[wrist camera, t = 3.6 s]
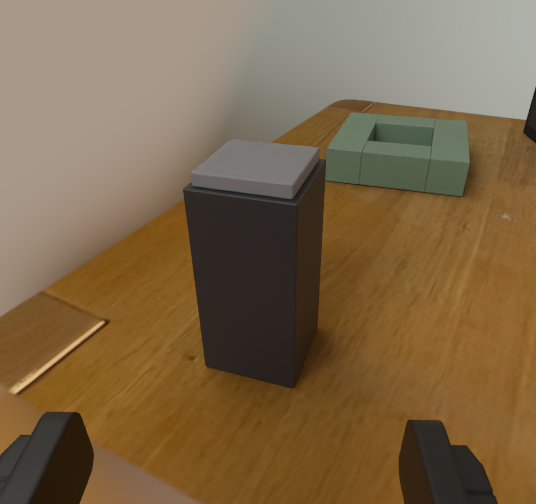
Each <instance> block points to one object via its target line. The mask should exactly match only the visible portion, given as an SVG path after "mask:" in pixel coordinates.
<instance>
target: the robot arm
mask: <svg viewBox="0 0 536 504" xmlns="http://www.w3.org/2000/svg"><path fill="white" fill-rule="evenodd" d="M93 459H94V453H93V448H92V445H91V442H90V439H89V437H88V434H87V431H86V428H85V426H84V423H83V420H82V417H81V415H80V414H79V413H77V412H46V413H45V414H43V415H42V417H41V418H40V420H39V421H38V423H37V425H36V427H35V429H34V431H33V433H32V434H31V435H20V436H19V437H18V438H17V439H16V440H15V441H14V442H13V443H12V444H11V445H10V446H9V447H8V448H7V449H6V450H5V451H4V452H3V453H2V454H1V455H0V504H79V503H80V501H81V498H82V496H83V493H84V490H85V488H86V485H87V482H88V480H89V477H90V475H91V471H92V467H93ZM399 477H400V484H401V489H402V493H403V498H404V503H405V504H498V503H497V500H496V498H495V496H494V495H493V490H492V487H491V485H490V482H489V480H488V477H487V475H486V472H485V469H484V467H483V465H482V464H481V463H480V462H479V461H478V459H477V458H476V457H475V456H474V454H473V453H472V452H471V451H470V450H469V448H468V447H467V446H464V445H451V444H450V442H449V439H448V436H447V433H446V430H445V427H444V425H443V423H442V422H441V421H439V420H408V421H407V424H406V428H405V433H404V437H403V442H402V446H401V451H400V455H399Z"/></svg>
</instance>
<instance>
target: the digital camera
mask: <svg viewBox="0 0 536 504" xmlns="http://www.w3.org/2000/svg"><path fill="white" fill-rule="evenodd" d="M523 132H524V133H525V134H526V135H528V136H529V137H530V138H531V139H532V140H534V141H535V142H536V88H535V92H534V95H533V99H532V102H531V106H530V109H529V113H528V116H527V120H526V124H525V127H524V131H523Z"/></svg>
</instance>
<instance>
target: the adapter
mask: <svg viewBox="0 0 536 504" xmlns="http://www.w3.org/2000/svg"><path fill="white" fill-rule="evenodd" d="M469 166H470V154H469V140H468V127H467V121H459V120H445V119H432V118H418V117H405V116H391V115H378V114H364V113H350V115H349V116H348V118H347V119H346V121H345V122H344V124H343V125H342V127H341V128H340V130H339V131H338V133H337V134H336V136H335V137H334V139H333V140H332V142H331V143H330V144H329V146H328V147H327V153H326V174H325V180H326V181H334V182H342V183H351V184H360V185H369V186H377V187H385V188H394V189H402V190H411V191H419V192H424V191H425V192H427V193H436V194H444V195H453V196H461V197H462V196H463V192H464V187H465V183H466V179H467V174H468V170H469Z"/></svg>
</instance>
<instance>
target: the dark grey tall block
mask: <svg viewBox="0 0 536 504" xmlns="http://www.w3.org/2000/svg"><path fill="white" fill-rule="evenodd" d="M319 152H320V149H319V148H318V147H309V146H298V145H288V144H278V143H268V142H258V141H247V140H236V139H231V140H230V141H229V142H227V143H226V144H225V145H224V146H223V147H221V148H220V149H219V150H218V151H216V152H215V153H214V154H213V155H211V156H210V157H209V158H208V159H207V160H205V161H204V162H203V163H201V164H200V165H199V166H198V167H197V168H195V169H194V170H193V171H192V172H191V183H190V184H189V185H188V186H186V187H185V188H184V189H183V192H184V200H185V208H186V216H187V224H188V232H189V239H190V247H191V255H192V263H193V271H194V279H195V287H196V294H197V302H198V310H199V318H200V326H201V334H202V342H203V349H204V357H205V365H206V366H208V367H211V368H215V369H219V370H223V371H227V372H231V373H235V374H239V375H243V376H247V377H251V378H254V379H258V380H262V381H266V382H270V383H274V384H278V385H282V386H286V387H290V388H294V387H295V385H296V382H297V379H298V377H299V374H300V371H301V369H302V366H303V363H304V361H305V358H306V355H307V353H308V350H309V347H310V345H311V342H312V339H313V337H314V334H315V331H316V329H317V324H318V305H319V286H320V267H321V249H322V230H323V211H324V192H325V174H326V160H323V159H319Z"/></svg>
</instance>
